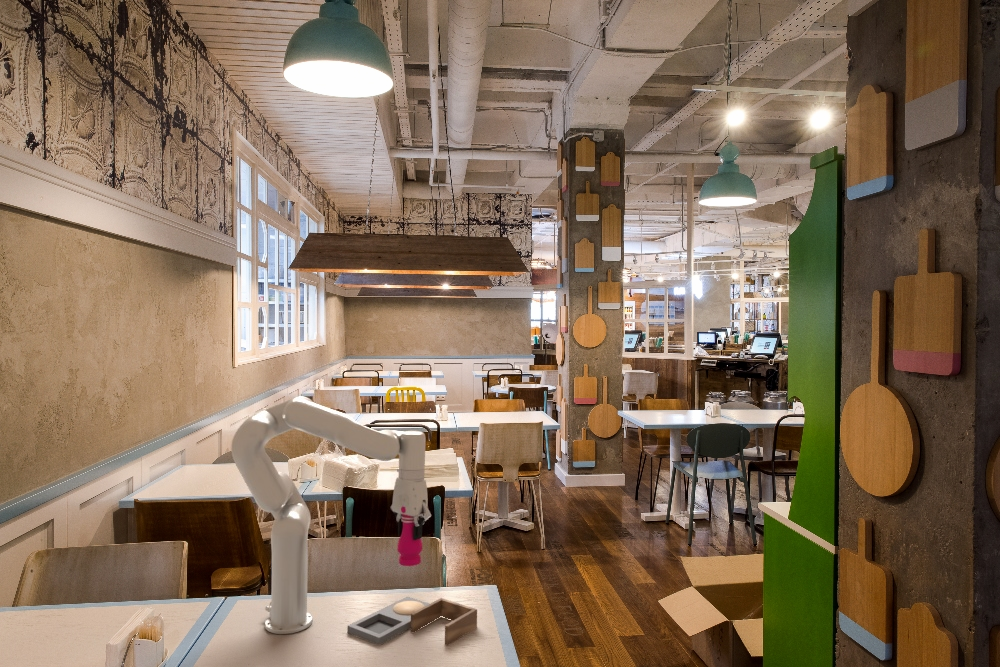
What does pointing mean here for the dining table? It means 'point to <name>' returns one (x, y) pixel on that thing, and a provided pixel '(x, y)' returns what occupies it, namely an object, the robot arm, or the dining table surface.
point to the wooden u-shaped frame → (457, 612)
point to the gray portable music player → (386, 621)
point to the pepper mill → (408, 542)
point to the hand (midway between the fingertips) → (409, 536)
